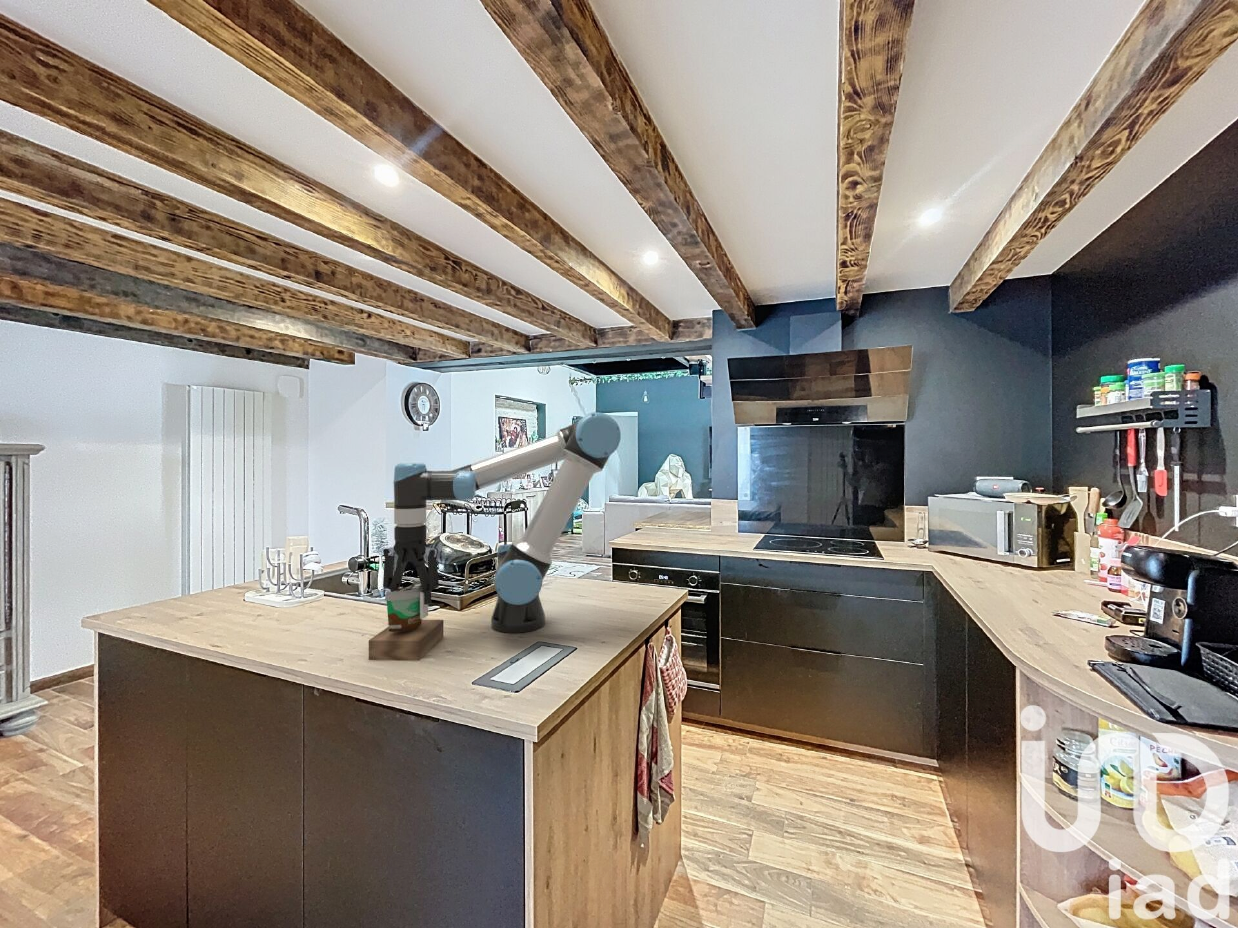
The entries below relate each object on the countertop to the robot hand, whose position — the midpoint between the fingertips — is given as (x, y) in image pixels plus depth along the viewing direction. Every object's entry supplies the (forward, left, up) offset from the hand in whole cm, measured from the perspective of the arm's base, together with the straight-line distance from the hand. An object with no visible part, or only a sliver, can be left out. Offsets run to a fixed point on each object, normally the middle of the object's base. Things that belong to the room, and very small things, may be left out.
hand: (411, 616), depth 132 cm
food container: (0, 0, -3) cm, 3 cm away
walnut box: (+1, 0, -8) cm, 8 cm away
